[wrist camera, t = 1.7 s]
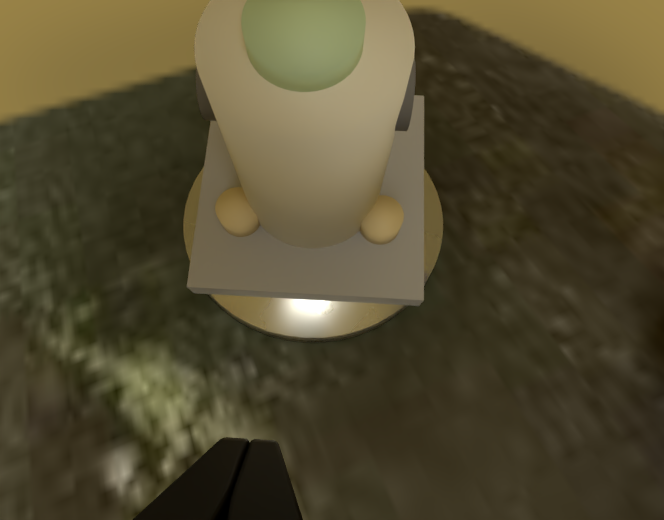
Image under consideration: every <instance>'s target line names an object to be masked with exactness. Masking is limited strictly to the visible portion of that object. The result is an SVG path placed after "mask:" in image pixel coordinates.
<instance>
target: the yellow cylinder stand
mask: <svg viewBox="0 0 664 520" xmlns="http://www.w3.org/2000/svg"><path fill="white" fill-rule="evenodd" d="M414 51H415V44H414V34H413V30H412V25H411V22H410V20H409V17H408V15H407V13H406V11H405V9H404V7H403V6H402V4H401V3H400V1H399V0H210V2H209V3H208V5H207V6H206V8H205V10H204V12H203V13H202V16H201V18H200V21H199V23H198V26H197V30H196V34H195V44H194V52H195V62H196V91H197V100H198V105H199V109H200V112H201V115H202V117H203V118H204V119H205V120H208V121H211V122H210V129H209V136H208V143H207V150H206V157H205V164H204V171H203V178H202V185H201V191H200V198H199V205H198V212H197V219H196V226H195V233H194V240H193V247H192V254H191V261H190V267H189V274H188V281H187V288H189V289H190V290H191V291H192V292H193V293H199V294H217V295H235V296H252V297H270V298H288V299H305V300H323V301H341V302H359V303H376V304H394V305H412V306H419V305H420V304H421V303H422V302H423V301H424V96H417V95H414V92H415V77H416V67H415V59H414Z"/></svg>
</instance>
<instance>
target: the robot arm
mask: <svg viewBox="0 0 664 520" xmlns="http://www.w3.org/2000/svg"><path fill="white" fill-rule="evenodd" d="M133 520H303V519H302V515H301V512H300V509H299V506H298V503H297V500H296V497H295V494H294V490H293V487H292V484H291V481H290V478H289V475H288V472H287V469H286V466H285V462H284V459H283V456H282V453H281V450H280V447H279V444H278V443H277V442H276V441H274V440H260V439H254V440H252V441H251V442H250V443H249V441H248V440H247V439H243V438H222V439H220V440H219V441H218V442H217V443H216V444H215V445H214V446H213V447H212V448H210V449H209V450H208V451H207V452H206V453H205V454H204V455H203V456H202V457H201V458H199V459H198V460H197V461H196V462H195V463H194V464H193V465H192V466H191V467H190V468H189V469H187V470H186V471H185V472H184V473H183V474H182V475H181V476H180V477H179V478H178V479H177V480H175V481H174V482H173V483H172V484H171V485H170V486H169V487H168V488H167V489H166V490H165V491H163V492H162V493H161V494H160V495H159V496H158V497H157V498H156V499H155V500H154V501H152V502H151V503H150V504H149V505H148V506H147V507H146V508H145V509H144V510H143V511H142V512H140V513H139V514H138V515H137V516H136V517H135V518H134V519H133Z"/></svg>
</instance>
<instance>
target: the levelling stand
mask: <svg viewBox="0 0 664 520" xmlns="http://www.w3.org/2000/svg"><path fill="white" fill-rule="evenodd" d="M203 171H204V167H203V168H202V170H201V172H200V173H199V175H198V176H197V178H196V179H195V182H194V184H193V186H192V188H191V190H190V193H189V196H188V199H187V203H186V206H185V213H184V220H183V227H184V240H185V246H186V251H187V254H188V257H189V260H190V261H191V254H192V247H193V240H194V233H195V226H196V219H197V212H198V205H199V198H200V191H201V185H202V178H203ZM442 236H443V216H442V209H441V204H440V200H439V197H438V194H437V191H436V189H435V186H434V184H433V182H432V180H431V178H430V177H429V175H428V173H427V172H426V170H425V169H424V285H425V283H426V282H427V280H428V278H429V276H430V274H431V272H432V270H433V268H434V266H435V264H436V261H437V258H438V255H439V252H440V248H441V242H442ZM209 296H210V297H211V298H212V299H213V300H214V302H215V303H216V304H217V305H218V306H219V307H220V308H221V309H222V310H223V311H225V312H226V313H227V314H229V315H230V316H231V317H233V318H234V319H235V320H237V321H238V322H240V323H242V324H244V325H245V326H247V327H249V328H251V329H253V330H255V331H258V332H260V333H263V334H265V335H268V336H271V337H275V338H279V339H283V340H288V341H296V342H304V343H315V342H330V341H338V340H343V339H347V338H351V337H355V336H358V335H361V334H363V333H366V332H368V331H371V330H373V329H376V328H377V327H379V326H381V325H382V324H384V323H386V322H388V321H389V320H391V319H392V318H394V317H395V316H396V315H397V314H399V313H400V312H401V311H403V310H404V309H405V308H406V307H407V306H408V305H394V304H376V303H359V302H341V301H323V300H305V299H288V298H270V297H252V296H235V295H217V294H209Z"/></svg>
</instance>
